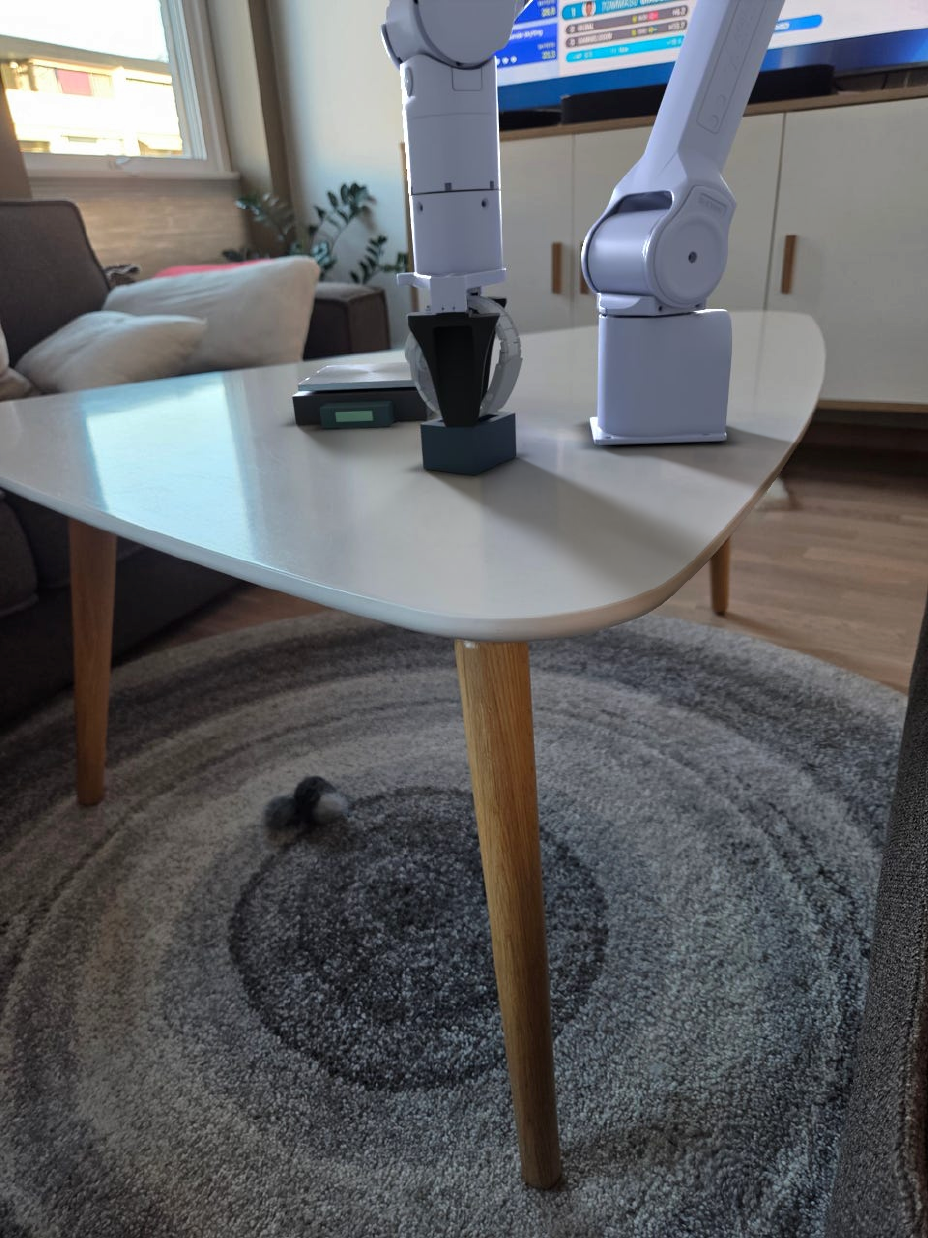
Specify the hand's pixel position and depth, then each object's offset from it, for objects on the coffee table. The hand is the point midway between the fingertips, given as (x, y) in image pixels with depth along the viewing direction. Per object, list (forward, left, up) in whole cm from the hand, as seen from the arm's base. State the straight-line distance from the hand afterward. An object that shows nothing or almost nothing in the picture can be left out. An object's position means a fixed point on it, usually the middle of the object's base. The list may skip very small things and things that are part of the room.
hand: (466, 413), depth 57 cm
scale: (+11, -20, -3) cm, 23 cm away
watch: (0, 0, -4) cm, 4 cm away
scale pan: (+11, -21, -1) cm, 24 cm away
